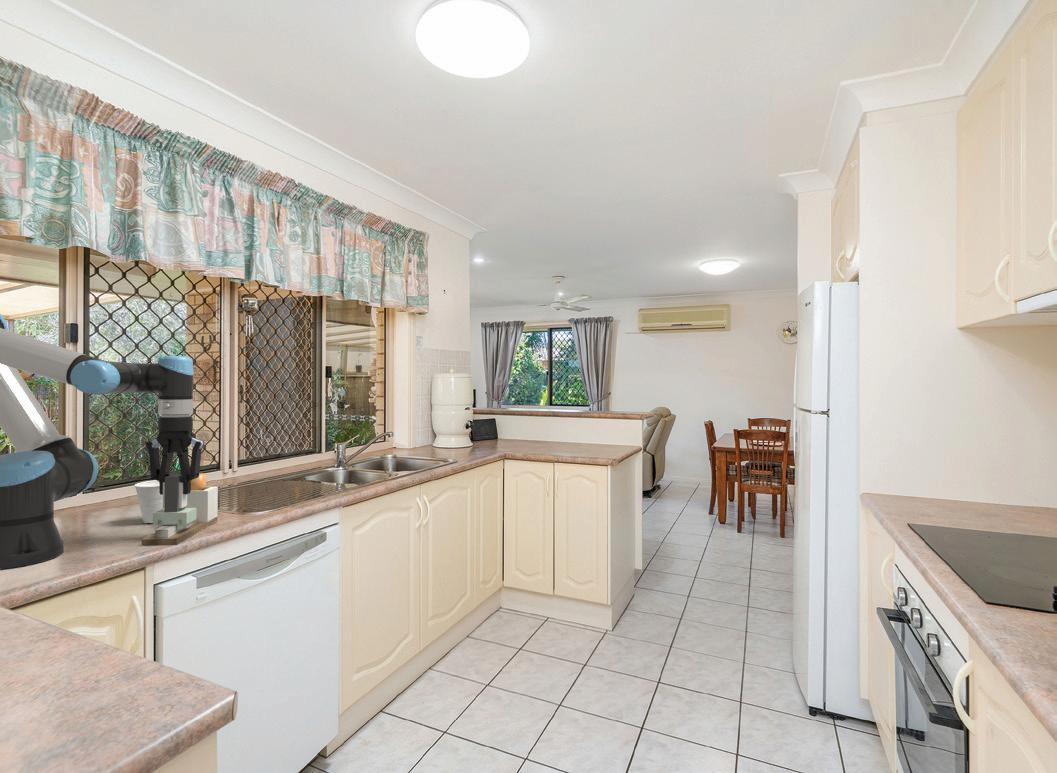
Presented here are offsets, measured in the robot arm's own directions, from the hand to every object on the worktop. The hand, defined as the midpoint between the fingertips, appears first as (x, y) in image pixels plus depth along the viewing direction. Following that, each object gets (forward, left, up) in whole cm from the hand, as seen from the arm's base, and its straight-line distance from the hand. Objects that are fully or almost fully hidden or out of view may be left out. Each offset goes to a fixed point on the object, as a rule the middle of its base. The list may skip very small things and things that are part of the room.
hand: (175, 506), depth 138 cm
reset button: (0, +12, +1) cm, 12 cm away
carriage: (0, 0, -5) cm, 5 cm away
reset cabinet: (0, +12, -6) cm, 13 cm away
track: (0, +4, -8) cm, 9 cm away
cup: (-13, +16, -8) cm, 22 cm away
